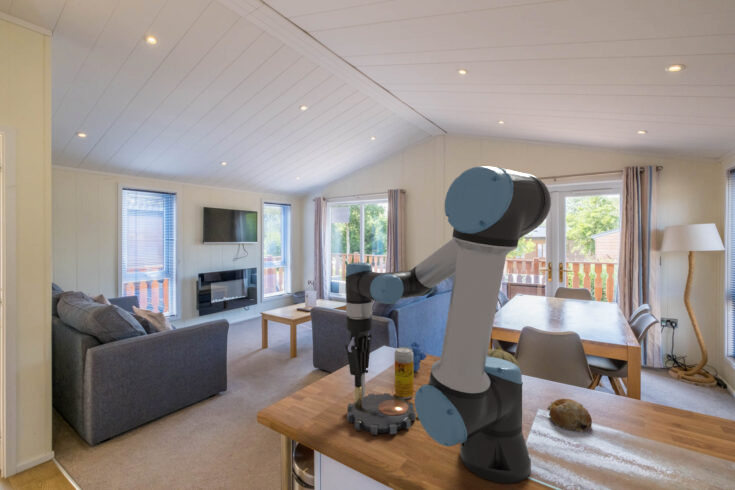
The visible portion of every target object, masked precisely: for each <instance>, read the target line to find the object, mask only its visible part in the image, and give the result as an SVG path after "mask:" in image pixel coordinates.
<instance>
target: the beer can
mask: <svg viewBox="0 0 735 490" xmlns="http://www.w3.org/2000/svg"><path fill="white" fill-rule="evenodd" d="M414 372H415V371H414V370H413V352H412V348H410V347H404V346H402V347H397V348H396V349H395V352H394V394H395V396H396V397H398V396H401V397H404V400H409V399H411V398H412V397H413V395H415V393H414V389H415V388H414V383H415V381H414V380H415V379H414V375H415V373H414Z"/></svg>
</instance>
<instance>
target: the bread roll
mask: <svg viewBox="0 0 735 490" xmlns="http://www.w3.org/2000/svg"><path fill="white" fill-rule="evenodd" d="M547 411H549V414H548V416H549V418H550V420H551V421H552V422H553V423H554V425H557V426H558V427H561V428H562V429H565V430H567V431H571V432H577V433H581V432H584V431H587V430H589V429H591V427H592V425H593V424H592V423H593V420H592V416H591V414H590V413H589V411H588V410H587V408H585V407H584V406H583V404H582V403H580V402H578V401H576V400H573V399H570V398H558V399H556V400H554V401H552V402H550V405H548V407H547Z"/></svg>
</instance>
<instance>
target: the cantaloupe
mask: <svg viewBox="0 0 735 490" xmlns="http://www.w3.org/2000/svg"><path fill="white" fill-rule="evenodd" d="M487 356H488V357H494V358H499V359H503V360H506V361H509V362H511V363H514V364H515V365H517V366H518V367H519V368H520V370H521V375H522V368H521V366H520V364H519V362H518V360H517V359H516V358H515V356H514V355H512V354H511V353H509V352H507V351H504V350H503V349H502V348H501V347H500V346H498V345H497V346H496V349H495V348H489V349H488V354H487ZM522 376H523V375H522Z"/></svg>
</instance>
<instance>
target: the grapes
mask: <svg viewBox="0 0 735 490" xmlns="http://www.w3.org/2000/svg"><path fill="white" fill-rule="evenodd" d="M410 346H411V349H412V352H413V371H414V372H418V371H419V370H420V368H421V367H420V365H421V361H424V360H425V359H427V354H426V353H424V352H421V349H420V348H419V347H420V343H419V342H418V341H417V340H415V341H413V342H412V343H411V344H410Z"/></svg>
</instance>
